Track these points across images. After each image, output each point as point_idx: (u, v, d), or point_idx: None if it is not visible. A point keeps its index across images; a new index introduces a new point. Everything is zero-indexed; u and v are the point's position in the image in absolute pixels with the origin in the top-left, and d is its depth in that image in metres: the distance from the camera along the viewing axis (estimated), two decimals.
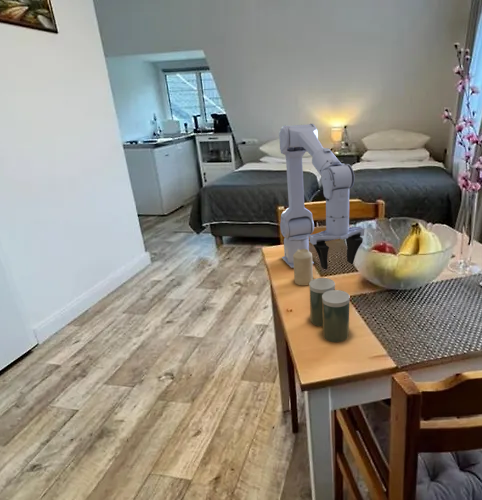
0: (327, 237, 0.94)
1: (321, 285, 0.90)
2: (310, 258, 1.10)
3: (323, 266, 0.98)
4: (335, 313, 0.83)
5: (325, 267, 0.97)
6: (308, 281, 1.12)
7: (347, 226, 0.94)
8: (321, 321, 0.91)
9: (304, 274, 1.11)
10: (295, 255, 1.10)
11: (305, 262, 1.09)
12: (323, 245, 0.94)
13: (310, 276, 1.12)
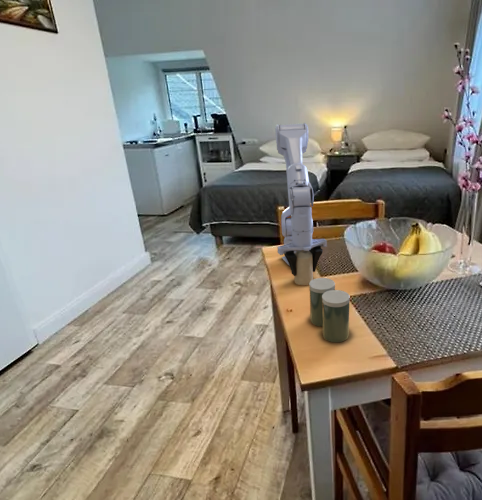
0: (293, 248, 1.07)
1: (321, 285, 0.90)
2: (310, 258, 1.10)
3: (293, 273, 1.11)
4: (335, 313, 0.83)
5: (294, 274, 1.11)
6: (308, 281, 1.12)
7: (310, 239, 1.08)
8: (321, 321, 0.91)
9: (304, 274, 1.11)
10: None
11: (306, 262, 1.09)
12: (292, 255, 1.08)
13: (310, 276, 1.12)
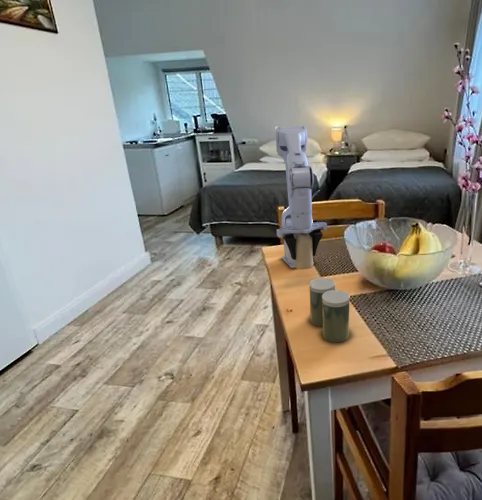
0: (292, 231, 1.05)
1: (321, 285, 0.90)
2: (310, 241, 1.08)
3: (292, 257, 1.09)
4: (335, 313, 0.83)
5: (294, 258, 1.09)
6: (308, 265, 1.10)
7: (310, 221, 1.06)
8: (321, 321, 0.91)
9: (304, 258, 1.09)
10: (295, 238, 1.08)
11: (305, 246, 1.07)
12: (291, 238, 1.06)
13: (310, 260, 1.10)
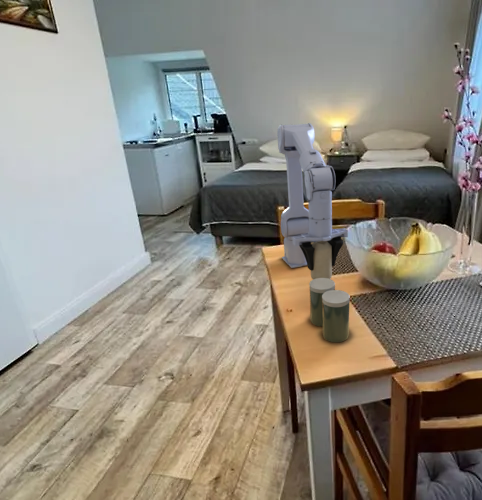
0: (310, 238, 0.94)
1: (321, 285, 0.90)
2: (329, 250, 0.97)
3: (309, 267, 0.98)
4: (335, 313, 0.83)
5: (311, 268, 0.98)
6: (327, 276, 0.99)
7: (330, 228, 0.94)
8: (321, 321, 0.91)
9: (322, 268, 0.97)
10: None
11: (324, 255, 0.96)
12: (309, 246, 0.95)
13: (329, 271, 0.99)
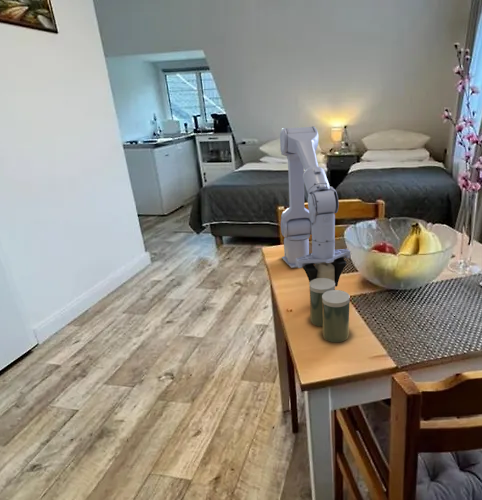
0: (313, 260, 0.94)
1: (321, 285, 0.90)
2: (332, 271, 0.97)
3: None
4: (335, 313, 0.83)
5: None
6: None
7: (332, 250, 0.95)
8: (321, 321, 0.91)
9: None
10: None
11: (327, 276, 0.97)
12: (312, 268, 0.95)
13: None
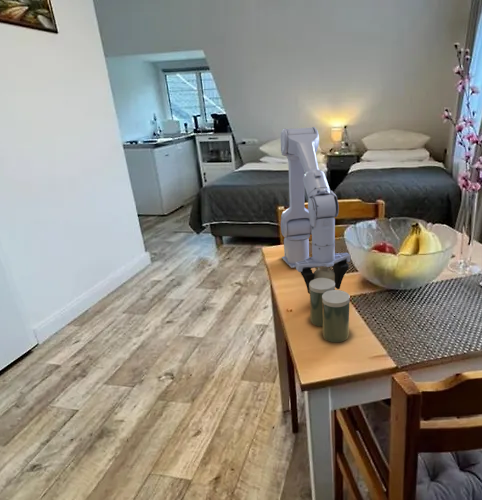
0: (313, 264, 0.95)
1: (321, 285, 0.90)
2: (332, 277, 0.98)
3: (309, 292, 0.99)
4: (335, 313, 0.83)
5: None
6: None
7: (332, 254, 0.95)
8: (321, 321, 0.91)
9: None
10: (315, 274, 0.98)
11: None
12: (309, 272, 0.95)
13: None
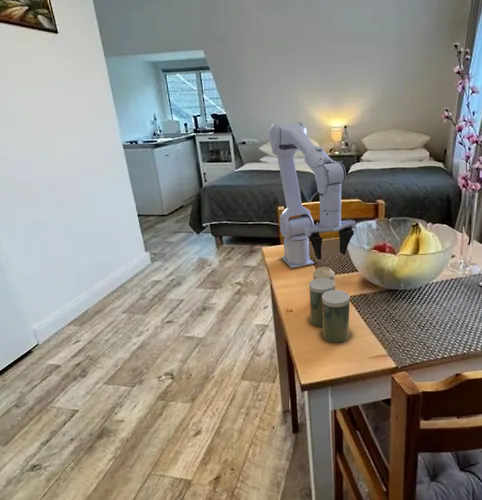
0: (321, 229, 1.02)
1: (321, 285, 0.90)
2: (332, 277, 0.98)
3: (317, 256, 1.06)
4: (335, 313, 0.83)
5: (319, 257, 1.05)
6: None
7: (339, 219, 1.02)
8: (321, 321, 0.91)
9: None
10: (315, 274, 0.98)
11: None
12: (317, 237, 1.02)
13: None
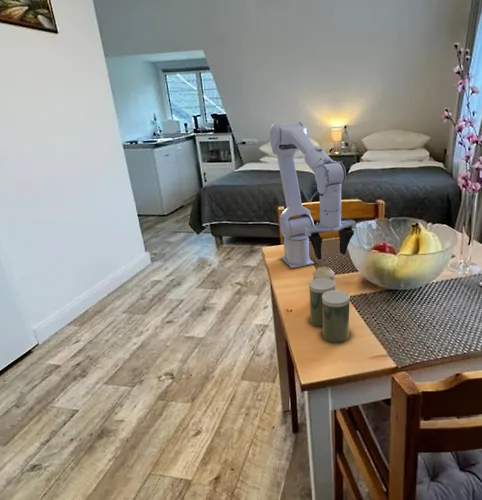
0: (321, 229, 1.02)
1: (321, 285, 0.90)
2: (332, 277, 0.98)
3: (317, 256, 1.06)
4: (335, 313, 0.83)
5: (319, 257, 1.05)
6: None
7: (339, 219, 1.02)
8: (321, 321, 0.91)
9: None
10: (315, 274, 0.98)
11: None
12: (317, 237, 1.02)
13: None
